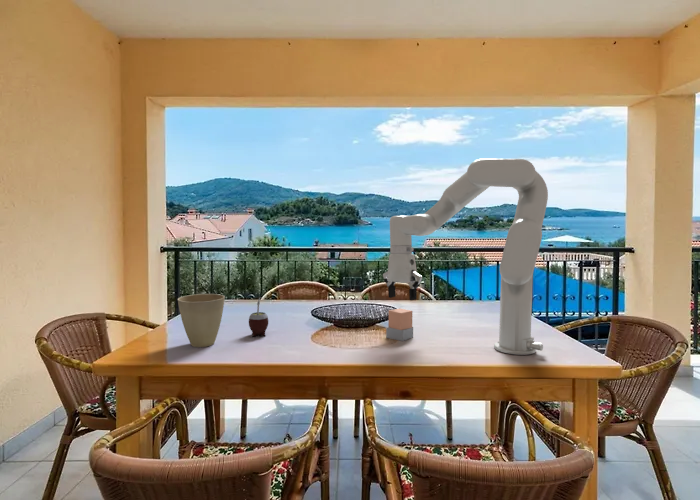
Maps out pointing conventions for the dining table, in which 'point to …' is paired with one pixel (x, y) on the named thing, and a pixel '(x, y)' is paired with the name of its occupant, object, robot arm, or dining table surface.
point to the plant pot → (201, 317)
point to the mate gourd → (258, 322)
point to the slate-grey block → (399, 333)
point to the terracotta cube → (400, 319)
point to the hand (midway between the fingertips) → (402, 298)
